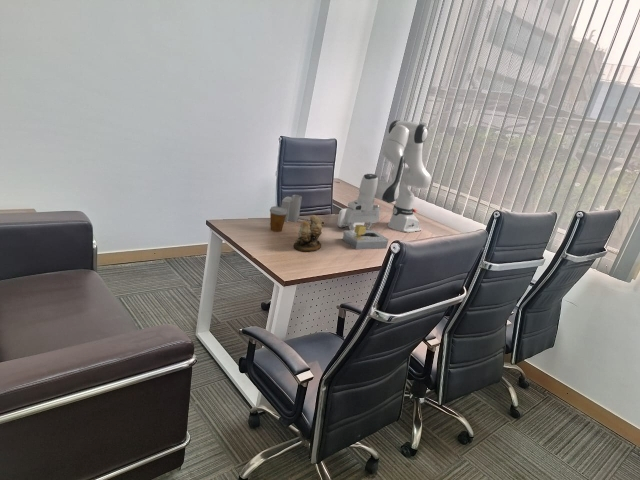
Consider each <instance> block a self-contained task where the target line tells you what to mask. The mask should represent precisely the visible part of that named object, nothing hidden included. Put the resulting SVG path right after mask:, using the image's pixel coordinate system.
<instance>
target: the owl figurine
mask: <svg viewBox="0 0 640 480" xmlns="http://www.w3.org/2000/svg"><path fill="white" fill-rule="evenodd" d="M309 219H310V221H306V220H302V224H301V225H300V227H299V232H298V237H296V239H295V241H296V242H295V243H294V244H293V248H294V249H295V250H296V251H298V252H302V253H315V252H317V251H319V250H320V249H321V248H322V243H321V242H320V241H319V237H321V234H323V233H322V230H323V226H322V225H323V224H322V222H323V221H322V219H321V218H320V217H318V216H317V215H315V214H312V215H311V216H310V218H309Z"/></svg>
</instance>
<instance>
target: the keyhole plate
mask: <svg viewBox="0 0 640 480" xmlns="http://www.w3.org/2000/svg"><path fill="white" fill-rule="evenodd" d="M354 231H355V230H353V231H350V230H344V231H343V235H342V241H344V242H345V243H347V244H348V246H350V247H352V248H353V249H354V250H372V249H373V250H375V249H376V250H377V249H378V250H379V249H380V250H381V249H387V247H388V243H389V238H387V237H386V236H384V235H383V234H381V233H380V232H378V231H377V230H375V229H369V230H365V234H361V236H357V233H355V232H354Z"/></svg>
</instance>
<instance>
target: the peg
mask: <svg viewBox="0 0 640 480" xmlns="http://www.w3.org/2000/svg"><path fill="white" fill-rule="evenodd" d="M365 230H366V225H364V226H363V225H356V226H355V231H354V232H355V233H357V236H361V234H365Z"/></svg>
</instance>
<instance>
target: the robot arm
mask: <svg viewBox="0 0 640 480" xmlns="http://www.w3.org/2000/svg"><path fill="white" fill-rule="evenodd" d="M428 133H429V130H428V127H427V126H426V125H425V124H422V123H417V122H414V121H406V120H405V121H404V120H400V119H397V120H393V121H392V122H391V123H390V125H389V126H388V135H387V137H386V139H385V142H384V144H383V145H382V155H383V156H384V158H385V159H386V160H387V161H388V162H389V163H390V164H392V165H393V166H394V167H393V168H392V169H391V172H390V177H391V180H392V181H390V182H387V181H383V180H380V179H379V178H378V177H379V176H378V175H376V174H373V173H366V174H364V175H363V176H362V178H361V180H360V181H361V182H360V185H359V189H358V192H359V193H358V195H357V198H356V199H355V200H353V201H349V202H348V203H347V210H346V213H345V217H344V219H345V221H346V222H348V223H350V225H351V230H355V227H354V226H353V224H354V223H367V225H365V227H366V230H370V228H371V226H372V225H373V224H374V223H378V222H379V221H380V216H381V213H380V212H381V206H379V205H378V204H377V205H375V199H377V200H381V201H383V202H385V203H387V204H392V203H394V202H395V203H394V204H393V209H392V213H391V217H390V219H389V221H388V223H387V227H389V229H393V230H395V231H398V232H404V233H408V234H409V232H410V233H416V232H415V231H417V232H421V231H422V228H421V227H419V225H420V221H419V219H418V218H417V217H416V215H414V213H415V214H416V213H417V212H418V209H415V208H413V206H414V203H415V194H414V193H413V192H412V191H411V189H410V187H413V188H416V189H422V190H423V189H424V190H425V189H427V188H428V187H430V185H431V182H432V176H431V174H430V173H429V172H428V170H427V169H426V168H425V165H424V162H423V147H424V142H425V141H427V137H428V135H429V134H428ZM420 230H421V231H420Z"/></svg>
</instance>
